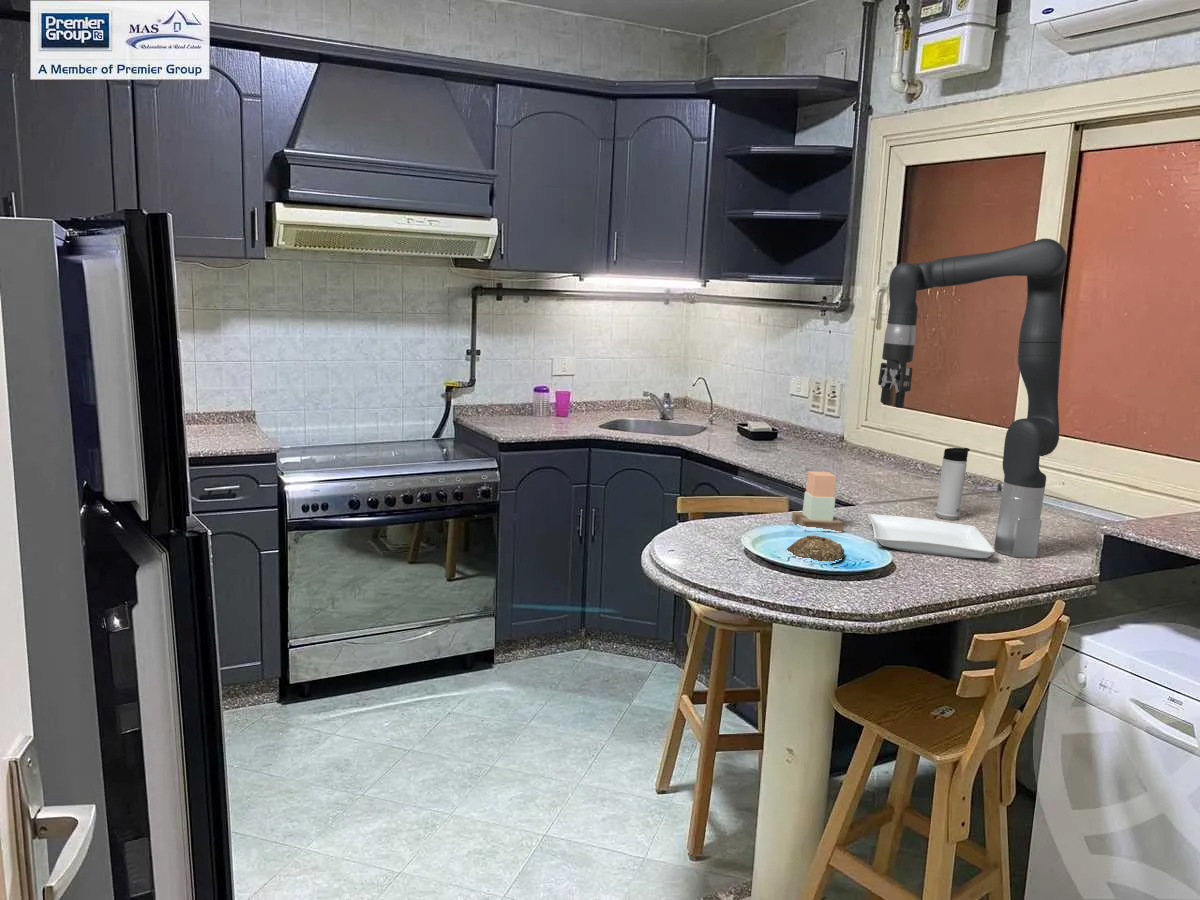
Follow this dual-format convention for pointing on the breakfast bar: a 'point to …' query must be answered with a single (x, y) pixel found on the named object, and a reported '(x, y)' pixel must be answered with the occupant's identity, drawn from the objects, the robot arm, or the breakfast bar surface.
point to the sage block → (818, 507)
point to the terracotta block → (821, 484)
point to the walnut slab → (816, 522)
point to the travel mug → (951, 483)
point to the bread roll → (817, 548)
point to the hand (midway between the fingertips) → (891, 405)
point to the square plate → (930, 536)
